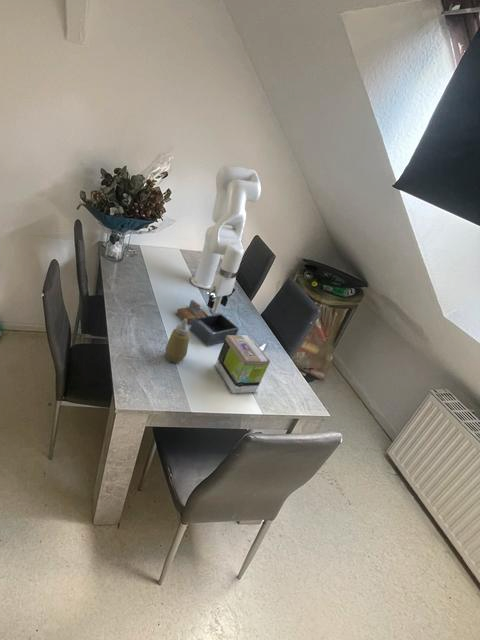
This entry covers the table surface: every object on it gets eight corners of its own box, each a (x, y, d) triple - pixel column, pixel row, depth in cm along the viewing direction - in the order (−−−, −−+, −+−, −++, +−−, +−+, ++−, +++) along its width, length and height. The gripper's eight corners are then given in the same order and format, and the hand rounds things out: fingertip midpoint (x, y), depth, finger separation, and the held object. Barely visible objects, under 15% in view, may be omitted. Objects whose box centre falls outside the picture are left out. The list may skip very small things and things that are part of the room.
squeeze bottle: (179, 368, 141) (191, 329, 132) (159, 358, 145) (170, 319, 135) (187, 357, 148) (199, 319, 138) (168, 348, 151) (179, 310, 141)
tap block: (194, 309, 179) (196, 304, 178) (207, 321, 172) (209, 315, 171) (175, 313, 174) (177, 307, 172) (188, 325, 167) (190, 319, 166)
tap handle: (188, 308, 173) (190, 299, 171) (190, 308, 174) (193, 299, 171) (195, 315, 169) (198, 306, 167) (198, 314, 170) (201, 305, 168)
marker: (214, 310, 182) (222, 286, 175) (217, 313, 180) (226, 289, 173) (210, 311, 180) (218, 287, 174) (213, 314, 179) (222, 290, 172)
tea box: (256, 392, 137) (271, 361, 129) (231, 393, 134) (245, 361, 126) (237, 364, 149) (250, 334, 141) (214, 365, 146) (225, 334, 139)
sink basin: (217, 323, 172) (220, 313, 169) (234, 339, 164) (238, 328, 161) (189, 329, 165) (193, 318, 162) (206, 345, 156) (210, 334, 153)
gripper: (236, 266, 176) (224, 299, 185) (207, 270, 168) (196, 304, 177) (247, 274, 171) (235, 307, 180) (218, 278, 162) (207, 313, 172)
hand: (216, 305), depth 178 cm, fingers open, 7 cm apart
